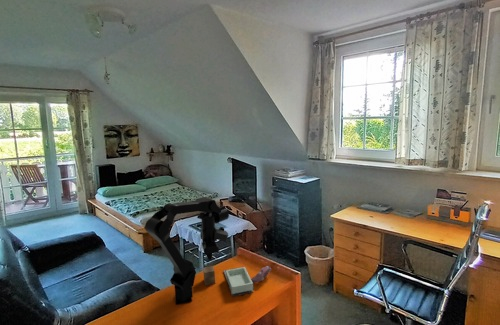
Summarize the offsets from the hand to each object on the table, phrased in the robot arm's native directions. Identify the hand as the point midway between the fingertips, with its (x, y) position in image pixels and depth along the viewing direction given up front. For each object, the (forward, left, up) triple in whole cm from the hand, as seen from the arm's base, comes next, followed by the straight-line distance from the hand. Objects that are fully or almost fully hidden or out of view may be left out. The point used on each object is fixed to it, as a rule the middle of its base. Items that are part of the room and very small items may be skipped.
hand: (209, 259), depth 131 cm
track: (+11, -4, -11) cm, 16 cm away
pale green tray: (+11, -7, -11) cm, 17 cm away
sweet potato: (+22, -6, -11) cm, 25 cm away
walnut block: (-1, 0, -11) cm, 11 cm away
